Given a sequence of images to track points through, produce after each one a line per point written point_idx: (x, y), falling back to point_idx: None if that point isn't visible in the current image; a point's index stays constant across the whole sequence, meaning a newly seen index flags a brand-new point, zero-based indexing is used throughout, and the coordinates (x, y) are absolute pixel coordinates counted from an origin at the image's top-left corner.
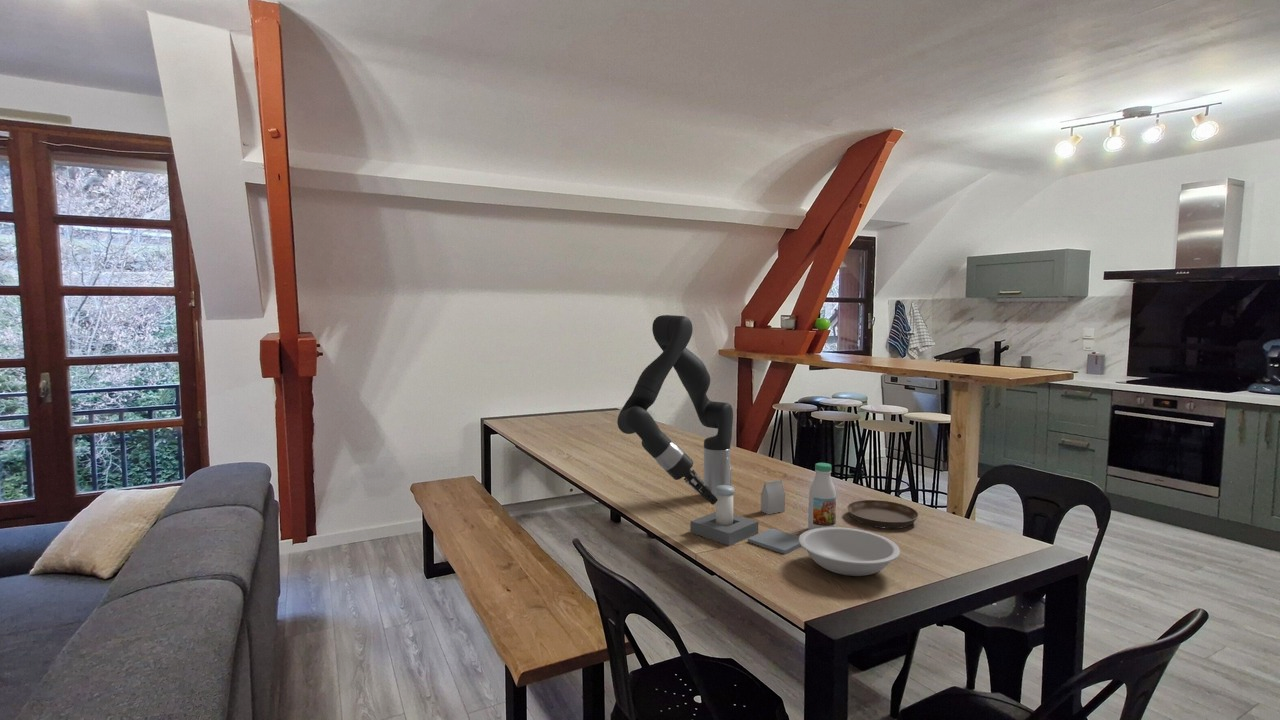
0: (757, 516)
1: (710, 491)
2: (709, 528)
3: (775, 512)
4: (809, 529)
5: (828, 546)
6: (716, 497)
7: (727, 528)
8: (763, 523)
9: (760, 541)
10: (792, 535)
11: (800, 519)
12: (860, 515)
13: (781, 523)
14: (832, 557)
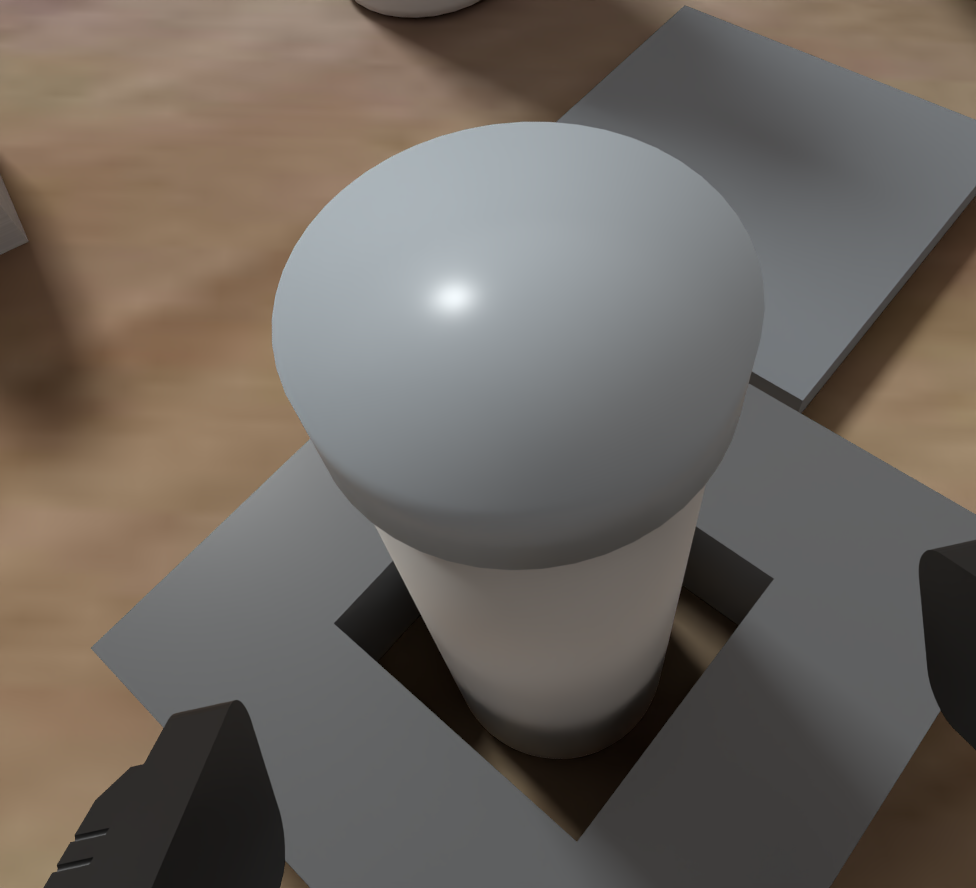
0: (59, 319)
1: (242, 711)
2: (857, 838)
3: (2, 185)
4: (449, 3)
5: None
6: (580, 585)
7: (841, 568)
8: (254, 280)
9: (850, 298)
10: (626, 85)
11: (181, 55)
12: None
13: (262, 162)
14: None
